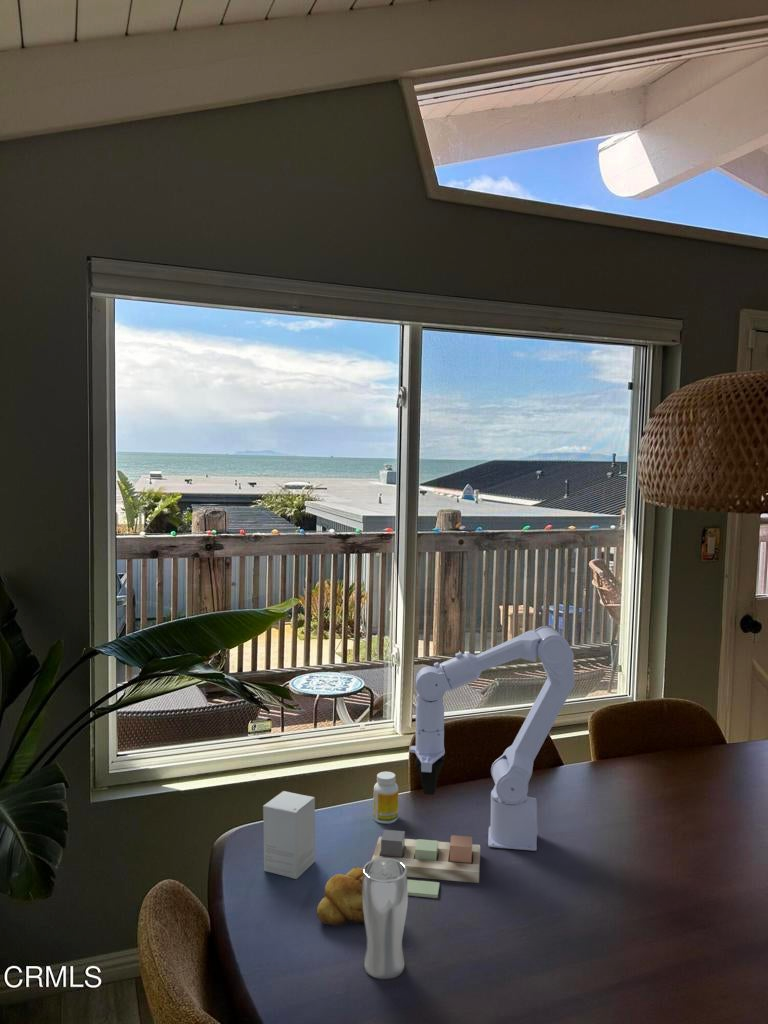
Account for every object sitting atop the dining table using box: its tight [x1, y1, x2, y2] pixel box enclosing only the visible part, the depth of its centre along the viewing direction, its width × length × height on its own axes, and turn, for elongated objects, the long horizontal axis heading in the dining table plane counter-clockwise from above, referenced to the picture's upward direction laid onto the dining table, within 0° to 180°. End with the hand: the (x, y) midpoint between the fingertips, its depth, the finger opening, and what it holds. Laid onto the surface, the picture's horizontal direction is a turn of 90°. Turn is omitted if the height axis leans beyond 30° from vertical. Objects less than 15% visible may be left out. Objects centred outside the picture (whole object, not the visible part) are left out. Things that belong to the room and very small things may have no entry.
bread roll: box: [316, 866, 364, 927], centre depth 123 cm, size 13×10×8 cm
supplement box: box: [262, 790, 316, 880], centre depth 138 cm, size 7×7×13 cm
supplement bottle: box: [372, 771, 399, 825], centre depth 157 cm, size 5×5×10 cm
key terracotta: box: [449, 834, 473, 864], centre depth 138 cm, size 4×4×3 cm
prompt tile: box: [407, 878, 440, 899], centre depth 130 cm, size 6×4×1 cm, turn 81°
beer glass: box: [362, 858, 409, 980], centre depth 110 cm, size 7×7×15 cm
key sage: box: [415, 838, 439, 861], centre depth 139 cm, size 4×4×3 cm
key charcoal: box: [381, 829, 406, 858], centre depth 140 cm, size 4×4×3 cm
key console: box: [371, 836, 481, 884], centre depth 139 cm, size 20×10×2 cm, turn 81°
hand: (429, 793), depth 148 cm, fingers closed
